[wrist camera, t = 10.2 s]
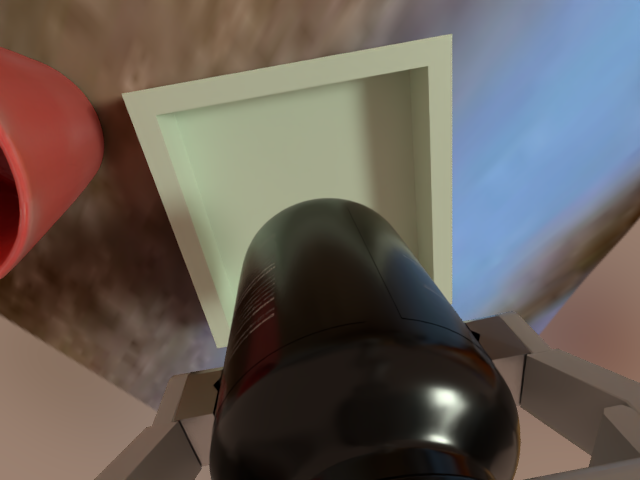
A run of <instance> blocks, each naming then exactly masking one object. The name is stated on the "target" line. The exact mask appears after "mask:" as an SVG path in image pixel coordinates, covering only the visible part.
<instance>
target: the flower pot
mask: <svg viewBox="0 0 640 480" xmlns="http://www.w3.org/2000/svg"><path fill="white" fill-rule="evenodd" d="M103 154H104V137H103V131H102V128H101V124H100V121H99V118H98V116H97V114H96V112H95V110H94V108H93V106H92V105H91V103H90V102H89V100H88V99H87V97H86V96H85V95H84V94H83V92H82V91H81V90H80V89H79V88H78V87H77V86H76V85H75V84H74V83H73V82H71V81H70V80H69V79H68V78H67V77H65V76H64V75H63V74H61V73H60V72H58V71H57V70H55V69H53V68H51V67H50V66H48V65H45V64H43V63H41V62H39V61H36V60H34V59H31V58H28V57H26V56H23V55H21V54H18V53H15V52H13V51H10V50H7V49H5V48H2V47H0V279H2V278H3V277H4V276H5V275H7V274H8V273H9V272H10V271H11V270H12V269H13V268H14V267H15V266H16V265H17V264H18V263H19V262H20V261H21V260H22V259H23V258H24V256H25V255H26V254H27V253H28V252H29V251H30V250H31V249H32V248H33V247H34V246H35V244H36V243H37V242H38V241H39V240H40V239H41V238H42V237H43V236H44V235H45V233H46V232H47V231H48V230H49V229H50V228H51V227H52V226H53V225H54V223H55V222H56V221H57V220H58V219H59V218H60V217H61V216H62V215H63V213H64V212H65V211H66V210H67V209H68V208H69V207H70V206H71V205H72V203H73V202H74V201H75V200H76V199H77V198H78V196H79V195H80V194H81V193H82V192H83V190H84V189H85V188H86V187H87V185H88V184H89V183H90V181H91V180H92V179H93V177H94V176H95V174H96V173H97V171H98V170H99V168H100V165H101V163H102V159H103Z"/></svg>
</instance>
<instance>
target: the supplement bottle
mask: <svg viewBox="0 0 640 480" xmlns="http://www.w3.org/2000/svg"><path fill="white" fill-rule="evenodd" d="M520 444H521V439H520V424H519V417H518V412H517V408H516V404H515V401H514V398H513V396H512V393H511V391H510V389H509V387H508V385H507V383H506V382H505V380H504V378H503V377H502V375H501V373H500V372H499V371H498V369H497V368H496V366H495V364H494V363H493V361H492V360H491V359H490V357H489V356H488V355H487V353H486V352H485V350H484V349H483V348H482V346H481V345H480V344H479V342H478V341H477V340H476V338H475V337H474V336H473V334H472V333H471V331H470V330H469V329H468V327H467V326H466V325H465V323H464V322H463V321H462V319H461V318H460V317H459V315H458V314H457V313H456V311H455V310H454V308H453V307H452V306H451V304H450V303H449V302H448V300H447V299H446V298H445V296H444V295H443V294H442V292H441V291H440V289H439V288H438V287H437V285H436V284H435V283H434V281H433V280H432V279H431V277H430V276H429V275H428V273H427V272H426V271H425V269H424V268H423V266H422V265H421V264H420V262H419V261H418V260H417V258H416V257H415V256H414V254H413V253H412V252H411V250H410V249H409V247H408V246H407V245H406V243H405V242H404V241H403V239H402V238H401V237H400V236H399V234H398V233H397V232H396V231H395V229H394V228H393V227H392V226H391V225H390V224H389V222H388V221H387V220H386V219H384V218H383V217H382V216H381V215H380V214H378V213H377V212H375V211H374V210H372V209H371V208H369V207H367V206H365V205H362V204H360V203H357V202H354V201H350V200H345V199H339V198H319V199H312V200H307V201H303V202H300V203H297V204H295V205H292V206H290V207H288V208H286V209H284V210H282V211H281V212H279V213H278V214H276V215H275V216H273V217H272V218H271V219H270V220H268V221H267V222H266V223H265V224H264V225H263V226H262V227H261V228H260V230H259V231H258V232H257V233H256V235H255V236H254V238H253V239H252V241H251V243H250V245H249V247H248V249H247V252H246V255H245V258H244V261H243V265H242V270H241V274H240V280H239V285H238V290H237V296H236V301H235V307H234V312H233V318H232V323H231V329H230V334H229V340H228V345H227V351H226V356H225V362H224V367H223V373H222V378H221V384H220V389H219V395H218V400H217V406H216V411H215V417H214V423H213V429H212V436H211V445H210V454H209V464H210V474H211V480H513V478H514V476H515V473H516V470H517V466H518V461H519V455H520Z"/></svg>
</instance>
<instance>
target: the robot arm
mask: <svg viewBox="0 0 640 480" xmlns="http://www.w3.org/2000/svg"><path fill="white" fill-rule="evenodd" d="M463 322H464V323H465V325H466V326H467V327H468V329H469V330H470V331H471V333H472V334H473V336H474V337H475V338H476V340H477V341H478V342H479V344H480V345H481V346H482V348H483V349H484V350H485V352H486V353H487V355H488V356H489V357H490V359H491V360H492V361H493V363H494V364H495V366H496V368H497V369H498V371H499V372H500V373H501V375H502V377H503V378H504V380H505V382H506V383H507V385H508V387H509V389H510V391H511V393H512V396H513V398H514V401H515V404H516V406H519V405H521V408H523V409H524V410H526V411H527V412H529V413H530V414H532V415H533V416H534V417H536V418H537V419H539V420H540V421H542V422H543V423H544V424H546V425H547V426H549V427H550V428H552V429H553V430H555V431H556V432H557V433H559V434H560V435H562V436H563V437H565V438H566V439H568V440H569V441H570V442H572V443H573V444H575V445H576V446H578V447H579V448H581V449H582V450H584V451H585V452H586V453H588V454H590V455H591V460H590V464H589V467H588V468H582V469H577V470H571V471H566V472H562V473H556V474H551V475H546V476H540V477H535V478H531V479H525V480H640V383H638V382H636V381H634V380H631V379H628V378H626V377H624V376H621V375H619V374H617V373H614V372H612V371H610V370H607V369H605V368H602V367H600V366H598V365H595V364H593V363H590V362H588V361H586V360H583V359H581V358H578V357H576V356H573V355H571V354H569V353H567V352H564V351H562V350H559V349H554V350H552V349H551V348H550V347H549V346H548V345H547V344H546V343H545V342H544V341H543V340H542V339H541V338H540V336H539V335H538V334H537V333H536V332H535V331H534V330H533V329H532V328H531V327H530V326H529V325H528V324H527V323H526V322H525V321H524V320H523V319H522V318H521V317H520V316H519V315H518V314H517V313H516V312H513V311H511V312H506V313H502V314H497V315H493V316H488V317H483V318H478V319H473V320H468V321H463ZM222 373H223V367H220V368H214V369H208V370H202V371H196V372H191V373H186V374H180V375H173V376H172V377H171V379H170V380H169V382H168V385H167V387H166V390H165V393H164V395H163V398H162V401H161V403H160V406H159V409H158V411H157V414H156V417H155V420H154V422H153V425H152V426H150V427H146V428H145V429H144V430H143V431H142V432H141V433H140V434H139V435H138V436H137V437H136V438H135V439H134V440H133V441H132V442H131V443H130V444H129V445H128V446H127V447H126V448H125V449H124V450H123V451H122V452H121V453H120V454H119V455H118V456H117V457H116V458H115V459H114V460H113V461H112V462H111V463H110V464H109V465H108V466H107V467H106V468H105V469H104V470H103V471H102V472H101V473H100V474H99V475H98V476H97V477H96V478H95V479H94V480H195V478H196V476H197V475H198V473H199V472H200V470H201V467H202V466H206V465H210V464H209V454H210V445H211V436H212V429H213V423H214V417H215V411H216V406H217V400H218V395H219V389H220V384H221V378H222Z"/></svg>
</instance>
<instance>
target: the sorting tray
mask: <svg viewBox="0 0 640 480" xmlns="http://www.w3.org/2000/svg"><path fill="white" fill-rule="evenodd" d="M122 97H123V99H124V102H125V105H126V107H127V110H128V113H129V115H130V118H131V120H132V123H133V126H134V128H135V131H136V134H137V136H138V139H139V142H140V144H141V147H142V150H143V152H144V155H145V158H146V160H147V163H148V165H149V168H150V171H151V173H152V176H153V179H154V181H155V184H156V187H157V189H158V192H159V195H160V197H161V200H162V203H163V205H164V208H165V211H166V213H167V216H168V218H169V221H170V224H171V226H172V229H173V232H174V234H175V237H176V240H177V242H178V245H179V248H180V250H181V253H182V256H183V258H184V261H185V263H186V266H187V269H188V271H189V274H190V277H191V279H192V282H193V285H194V287H195V290H196V293H197V295H198V298H199V301H200V303H201V306H202V308H203V311H204V314H205V316H206V319H207V322H208V324H209V327H210V330H211V332H212V335H213V338H214V340H215V343H216V346H217V348H222V347H227V345H228V340H229V334H230V329H231V323H232V318H233V312H234V307H235V301H236V296H237V290H238V285H239V280H240V274H241V270H242V265H243V261H244V258H245V255H246V252H247V249H248V247H249V245H250V243H251V241H252V239H253V238H254V236H255V235H256V233H257V232H258V231H259V230H260V228H261V227H262V226H263V225H264V224H265V223H266V222H267V221H268V220H270V219H271V218H272V217H273V216H275V215H276V214H278V213H279V212H281V211H282V210H284V209H286V208H288V207H290V206H292V205H295V204H297V203H300V202H303V201H307V200H312V199H319V198H339V199H345V200H350V201H354V202H357V203H360V204H362V205H365V206H367V207H369V208H371V209H372V210H374V211H375V212H377V213H378V214H380V215H381V216H382V217H383V218H384V219H386V220H387V221H388V222H389V224H390V225H391V226H392V227H393V228H394V229H395V231H396V232H397V233H398V234H399V236H400V237H401V238H402V239H403V241H404V242H405V243H406V245H407V246H408V247H409V249H410V250H411V252H412V253H413V254H414V256H415V257H416V258H417V260H418V261H419V262H420V264H421V265H422V266H423V268H424V269H425V271H426V272H427V273H428V275H429V276H430V277H431V279H432V280H433V281H434V283H435V284H436V285H437V287H438V288H439V289H440V291H441V292H442V294H443V295H444V296H445V298H446V299H447V300H448V302H449V303H450V304H452V34H449V35H443V36H438V37H432V38H427V39H421V40H416V41H410V42H405V43H399V44H394V45H388V46H383V47H377V48H372V49H366V50H361V51H355V52H349V53H344V54H338V55H333V56H327V57H322V58H316V59H311V60H305V61H300V62H294V63H289V64H283V65H278V66H272V67H267V68H261V69H256V70H250V71H245V72H239V73H233V74H228V75H222V76H217V77H211V78H206V79H200V80H195V81H189V82H184V83H178V84H173V85H167V86H162V87H156V88H151V89H145V90H140V91H134V92H128V93H123V94H122Z"/></svg>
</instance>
